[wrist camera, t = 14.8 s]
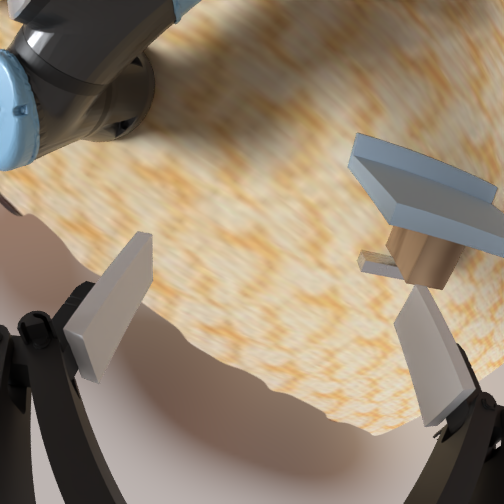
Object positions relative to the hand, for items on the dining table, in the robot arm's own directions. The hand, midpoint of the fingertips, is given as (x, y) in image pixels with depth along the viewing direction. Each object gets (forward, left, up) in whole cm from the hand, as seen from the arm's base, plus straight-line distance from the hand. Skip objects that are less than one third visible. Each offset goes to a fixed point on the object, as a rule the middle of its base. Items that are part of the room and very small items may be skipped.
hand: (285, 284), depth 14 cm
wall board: (+22, +3, -29) cm, 36 cm away
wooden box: (+22, -5, -29) cm, 37 cm away
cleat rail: (+22, -13, -29) cm, 38 cm away
